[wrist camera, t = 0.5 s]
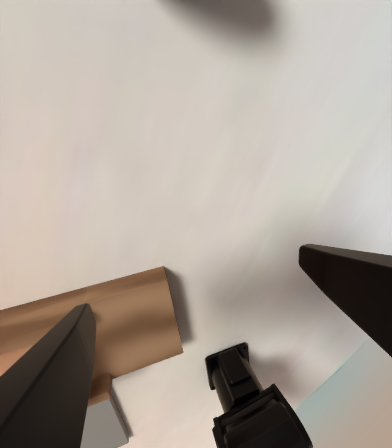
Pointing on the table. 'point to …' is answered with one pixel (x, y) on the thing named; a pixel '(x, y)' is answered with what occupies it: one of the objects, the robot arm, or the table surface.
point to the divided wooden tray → (106, 325)
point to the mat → (104, 426)
